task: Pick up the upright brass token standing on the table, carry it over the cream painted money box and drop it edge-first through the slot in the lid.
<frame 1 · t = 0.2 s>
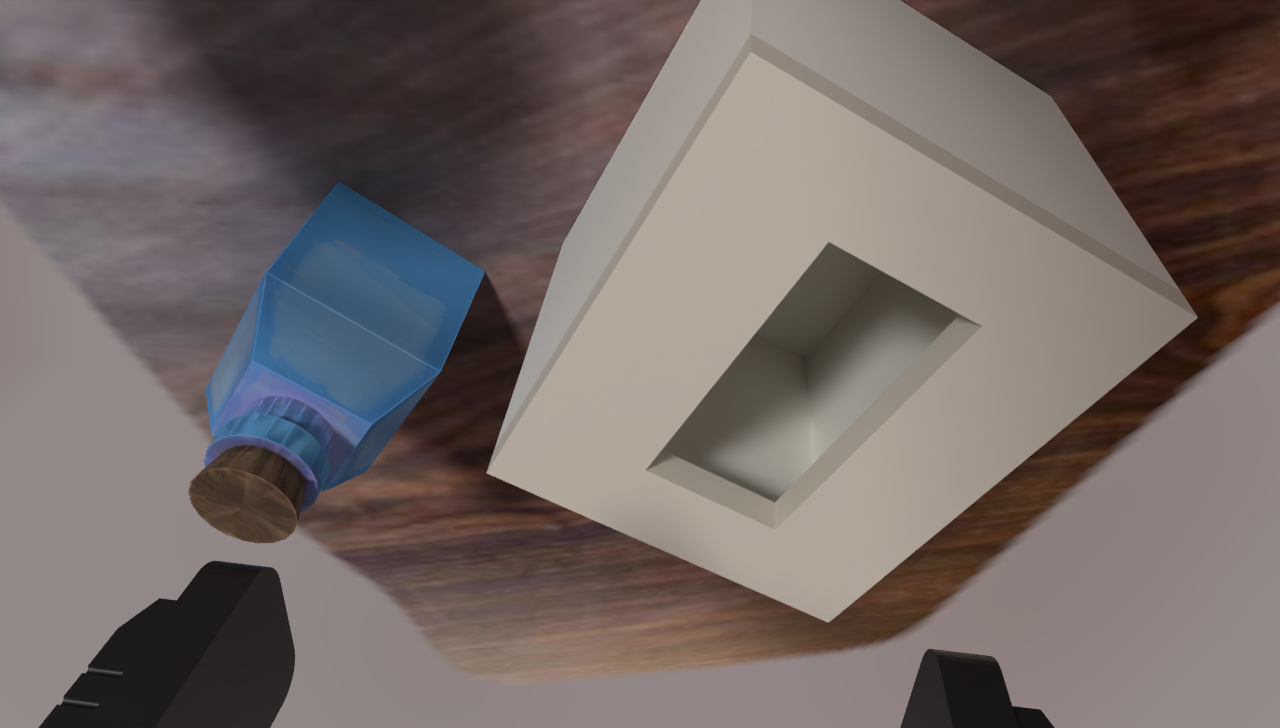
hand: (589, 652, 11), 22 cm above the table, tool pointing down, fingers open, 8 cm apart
coin box: (786, 175, 31), on the table
perfume bottle: (381, 278, 35), on the table
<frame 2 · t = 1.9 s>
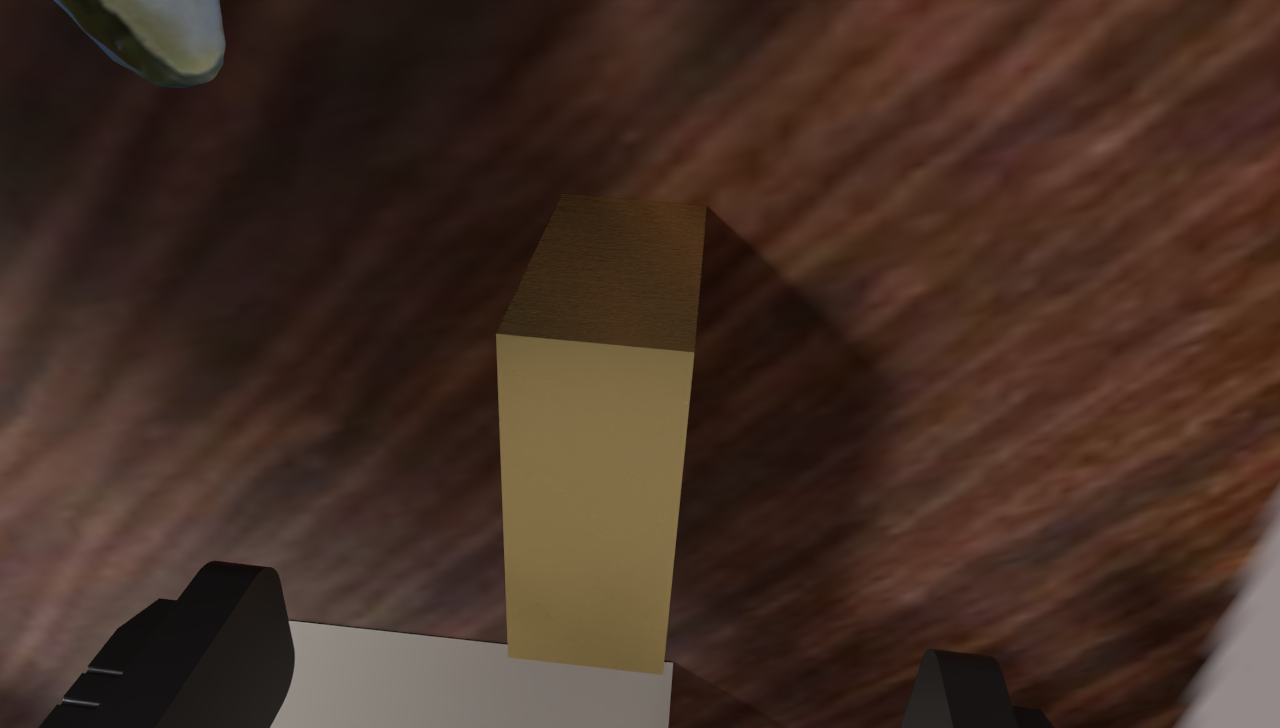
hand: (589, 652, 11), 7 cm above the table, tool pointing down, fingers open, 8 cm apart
token: (626, 348, 17), on the table
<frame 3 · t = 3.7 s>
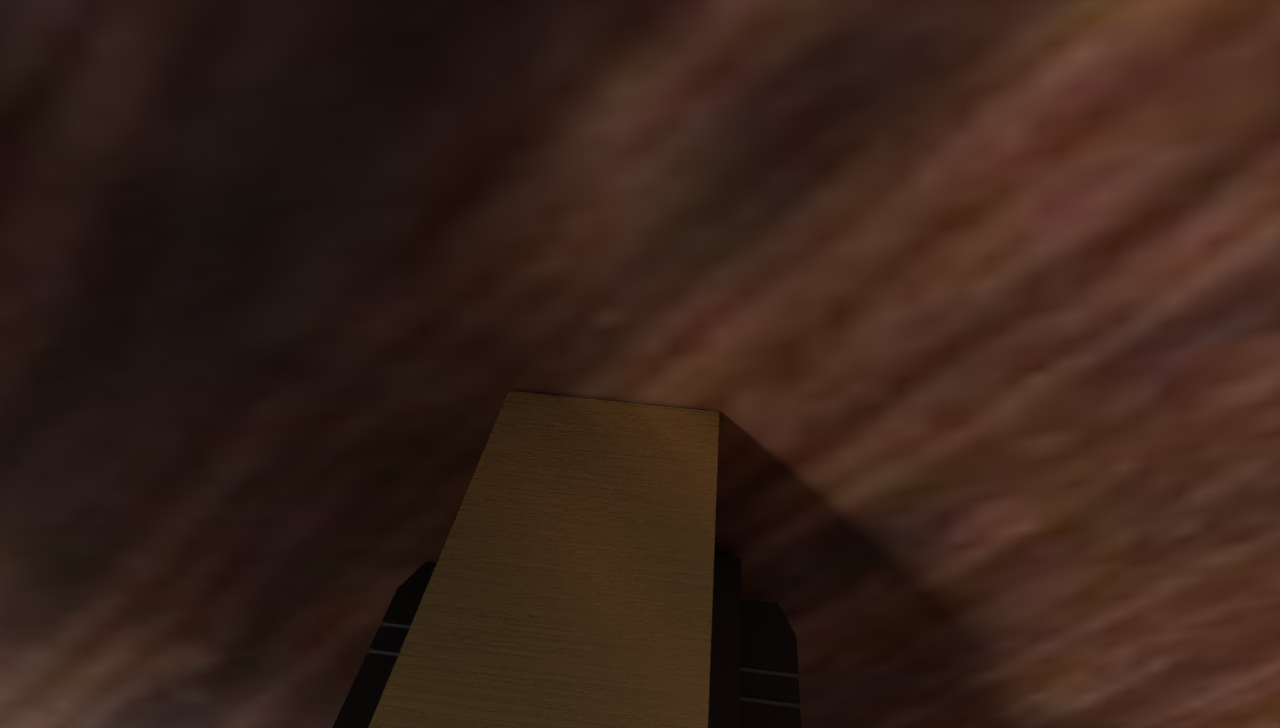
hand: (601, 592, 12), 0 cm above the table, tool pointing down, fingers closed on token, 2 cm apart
token: (604, 586, 12), on the table, touching gripper
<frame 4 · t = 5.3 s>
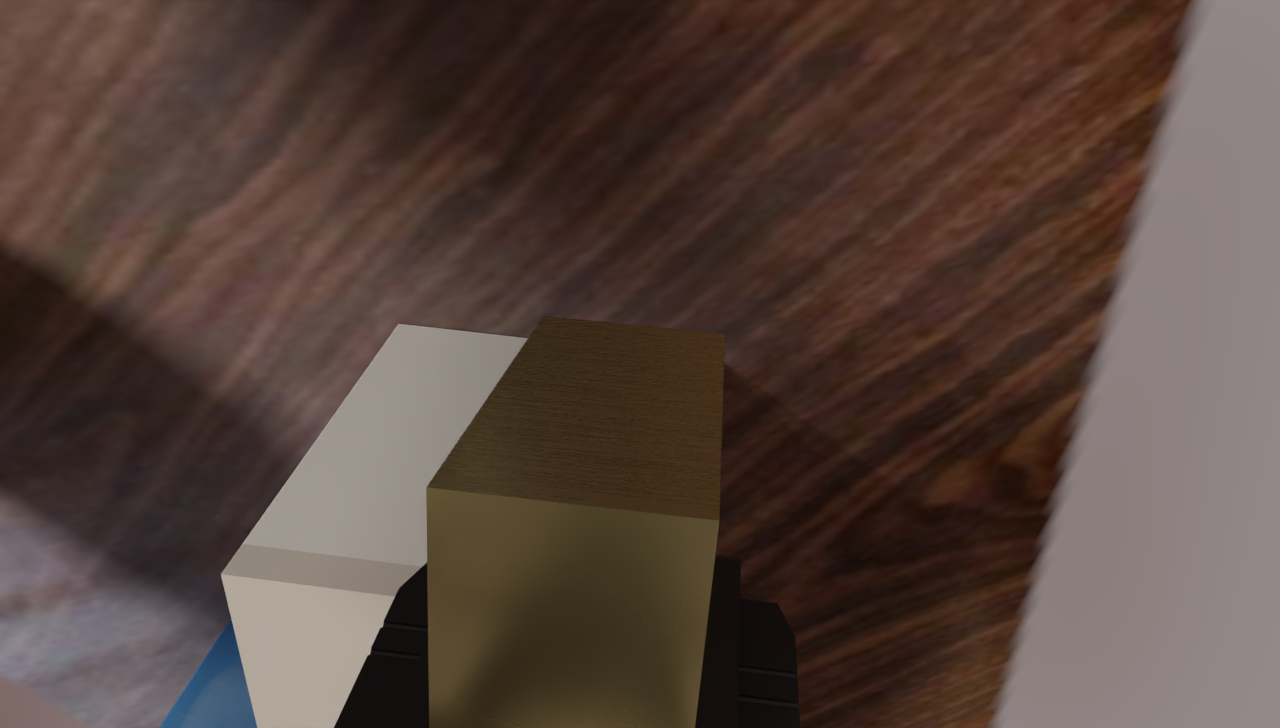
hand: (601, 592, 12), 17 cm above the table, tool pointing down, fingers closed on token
coin box: (554, 491, 33), on the table
token: (619, 517, 13), point 16 cm above the table, tilted 11°, touching gripper
perfume bottle: (311, 665, 41), on the table
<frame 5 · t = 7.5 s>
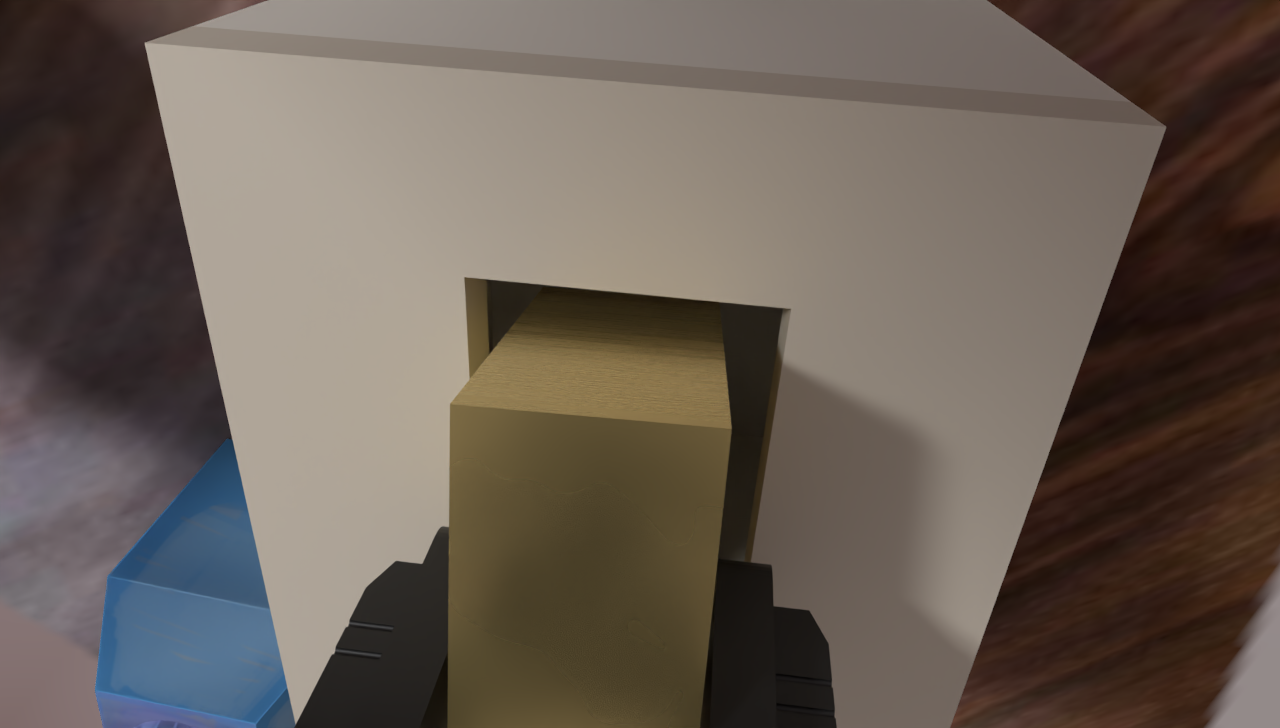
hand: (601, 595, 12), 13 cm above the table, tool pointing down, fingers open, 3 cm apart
coin box: (674, 228, 23), on the table
token: (617, 487, 14), point 11 cm above the table, tilted 14°
perfume bottle: (325, 526, 30), on the table
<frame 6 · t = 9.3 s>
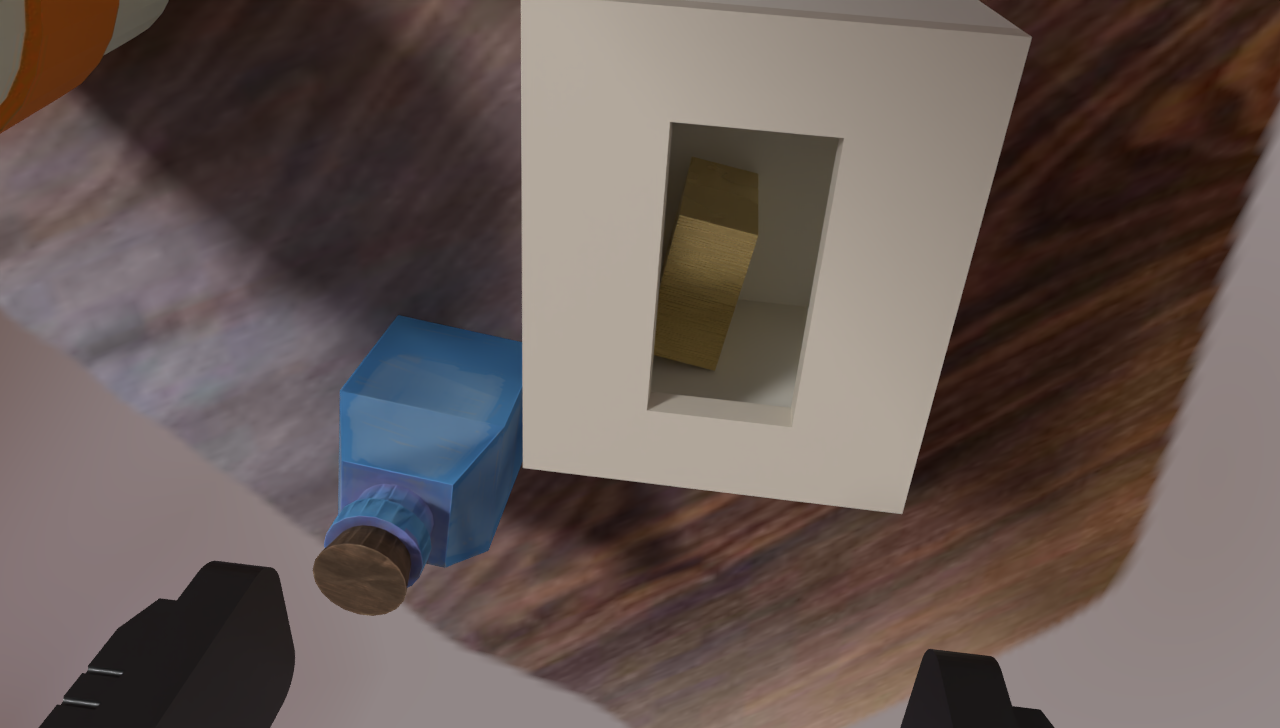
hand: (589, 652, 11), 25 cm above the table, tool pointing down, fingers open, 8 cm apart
coin box: (742, 149, 33), on the table
token: (722, 192, 30), point 4 cm above the table, tilted 90°, touching coin box
perfume bottle: (464, 387, 40), on the table
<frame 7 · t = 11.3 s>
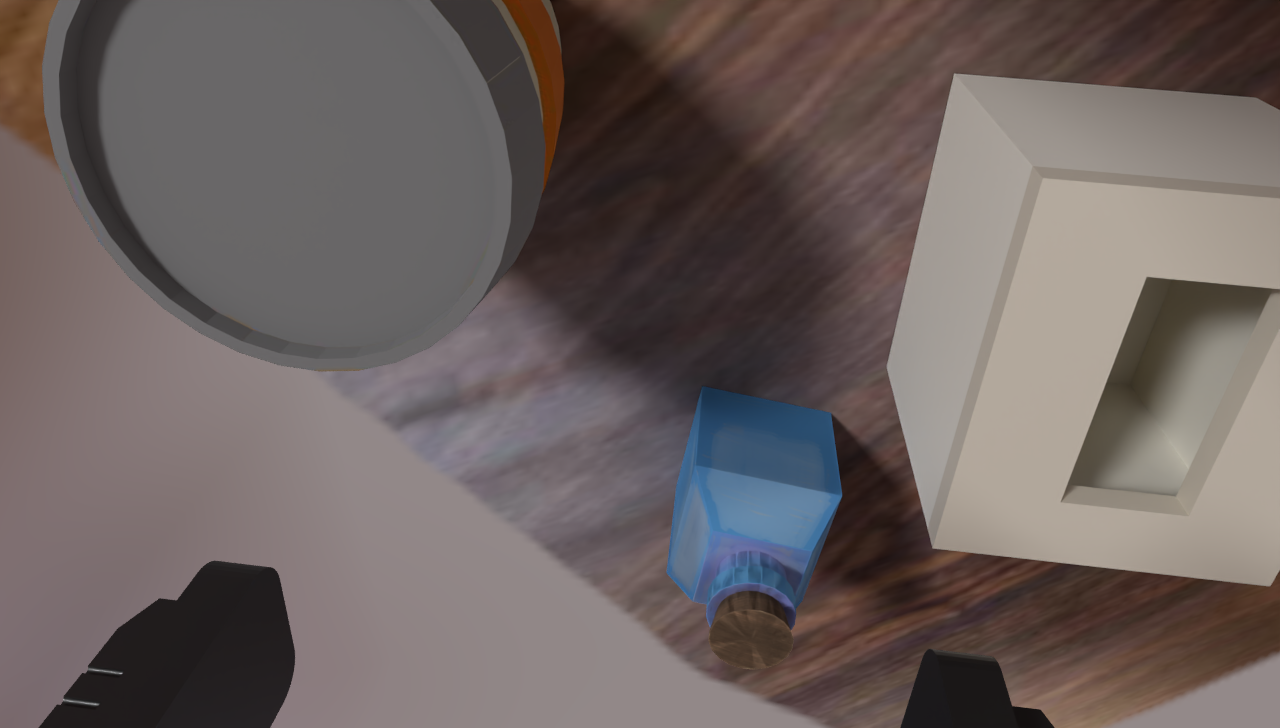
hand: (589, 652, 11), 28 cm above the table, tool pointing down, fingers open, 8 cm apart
coin box: (1052, 245, 37), on the table
reusable coffee cup: (451, 45, 35), on the table
perfume bottle: (750, 448, 44), on the table
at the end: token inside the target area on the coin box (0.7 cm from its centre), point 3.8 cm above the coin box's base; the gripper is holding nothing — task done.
